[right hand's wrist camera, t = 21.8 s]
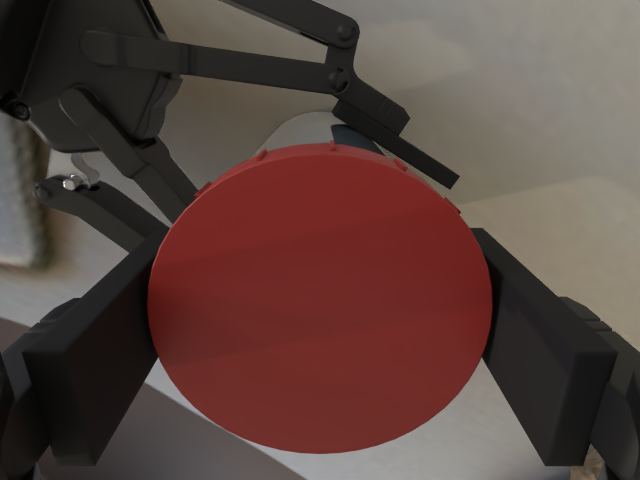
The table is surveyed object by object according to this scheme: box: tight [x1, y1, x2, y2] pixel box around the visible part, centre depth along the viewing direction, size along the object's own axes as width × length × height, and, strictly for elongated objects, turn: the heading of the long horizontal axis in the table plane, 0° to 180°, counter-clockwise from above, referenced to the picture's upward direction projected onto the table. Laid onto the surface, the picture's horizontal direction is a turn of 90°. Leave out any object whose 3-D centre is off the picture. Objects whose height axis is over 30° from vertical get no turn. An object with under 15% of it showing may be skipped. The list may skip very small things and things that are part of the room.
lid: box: [147, 140, 493, 454], centre depth 11 cm, size 9×9×2 cm
